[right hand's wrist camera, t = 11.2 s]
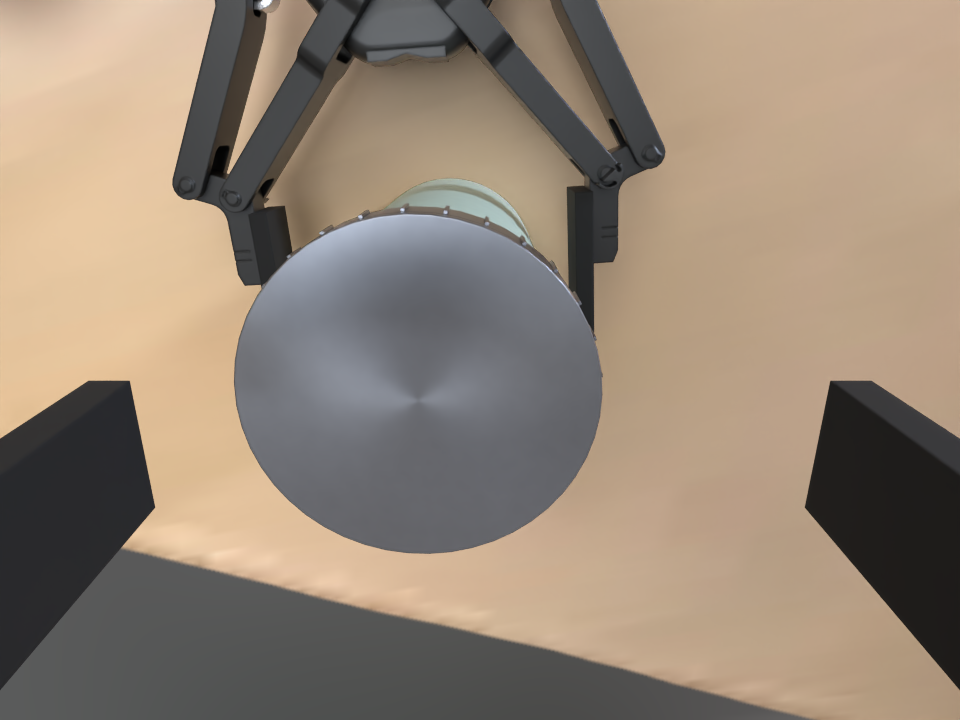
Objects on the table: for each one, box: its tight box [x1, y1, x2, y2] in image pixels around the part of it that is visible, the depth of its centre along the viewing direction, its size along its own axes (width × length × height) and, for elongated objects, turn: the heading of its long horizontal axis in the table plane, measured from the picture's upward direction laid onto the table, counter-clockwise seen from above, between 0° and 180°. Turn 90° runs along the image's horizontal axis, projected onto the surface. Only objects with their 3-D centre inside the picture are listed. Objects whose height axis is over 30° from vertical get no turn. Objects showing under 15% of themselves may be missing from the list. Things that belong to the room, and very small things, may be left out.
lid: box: [234, 203, 603, 554], centre depth 18 cm, size 10×10×2 cm
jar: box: [383, 178, 534, 248], centre depth 26 cm, size 9×9×18 cm
